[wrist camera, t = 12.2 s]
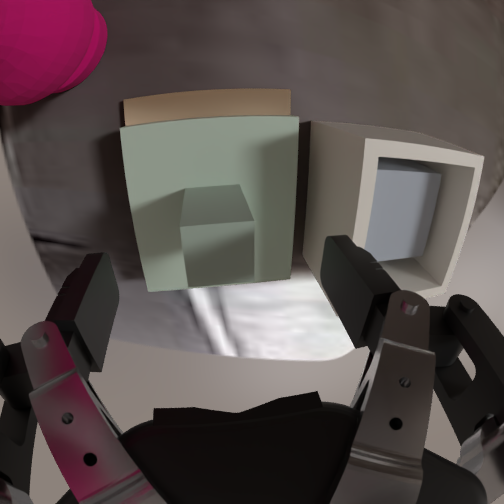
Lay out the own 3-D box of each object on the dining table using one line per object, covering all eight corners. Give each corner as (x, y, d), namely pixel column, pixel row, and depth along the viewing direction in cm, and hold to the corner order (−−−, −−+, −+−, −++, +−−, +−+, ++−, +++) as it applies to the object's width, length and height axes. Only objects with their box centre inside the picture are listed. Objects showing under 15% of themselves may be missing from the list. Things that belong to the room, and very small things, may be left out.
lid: (129, 124, 15) (86, 144, 9) (288, 113, 17) (338, 128, 10) (152, 273, 21) (138, 347, 15) (282, 261, 22) (313, 330, 16)
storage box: (310, 120, 17) (365, 138, 11) (417, 132, 19) (484, 156, 13) (302, 255, 22) (337, 316, 16) (397, 245, 24) (445, 293, 18)
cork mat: (125, 99, 15) (123, 99, 14) (288, 89, 16) (290, 89, 16) (151, 279, 21) (151, 282, 21) (282, 268, 23) (283, 270, 22)
